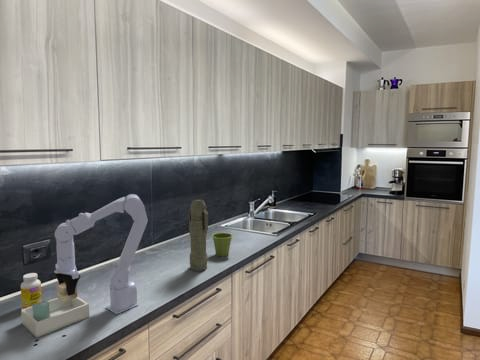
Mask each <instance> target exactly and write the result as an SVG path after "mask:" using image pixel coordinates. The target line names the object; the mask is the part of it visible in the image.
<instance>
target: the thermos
mask: <svg viewBox="0 0 480 360" xmlns="http://www.w3.org/2000/svg"><path fill="white" fill-rule="evenodd" d="M206 207H207V206H206V203H205V200H203V199H196V198H195V199H193V200H191V203H190V208H189V210H188V228H189V236H190V253H189V269H190V270H191V271H193V272H203V271H206V270H207V269H208V252H207V235H208V230H209V212H208V211H207V209H206Z"/></svg>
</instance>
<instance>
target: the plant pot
mask: <svg viewBox="0 0 480 360" xmlns="http://www.w3.org/2000/svg"><path fill="white" fill-rule="evenodd" d="M211 237H212V240H213V244H214V251H215V255H216V256H217V257H220V256H221V257H227V256H229V253H230V249H231V248H230V246H231V241H232V237H233V234H232V233H228V232H215V233H213V234H211Z"/></svg>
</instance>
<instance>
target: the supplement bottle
mask: <svg viewBox="0 0 480 360" xmlns="http://www.w3.org/2000/svg"><path fill="white" fill-rule="evenodd" d="M22 279H23V282H21V284H20V295H21V296H20V299H21V300H20V302H21V310H22V309H25V308H28V307H31V306H33V305H34V304H35V303H38V302H41V301H43V299H42V282H41V280H40V279H38V273H36V272H29V273H26V274H24V275H23V277H22Z"/></svg>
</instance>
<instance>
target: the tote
mask: <svg viewBox="0 0 480 360" xmlns="http://www.w3.org/2000/svg"><path fill="white" fill-rule="evenodd" d="M47 301H48V302H49V310H50V317H49V318H46V319H44V320H41V321H38V322H37V321H36V320H35V319H34V318H33V309H32V306H31V307H28V308H25V309H22V308H21V310H20V317H21V319H20V320H21V324H22V325H23V326H24V327H25V328H26V329H27V330H28V331H29V332H30V333H31V334H32V335H33V336H34V337H35V338H37V339H38V338H41V337H43V336H46V335H48V334H50V333H53V332H55V331H57V330H60V329H63V328H65V327H68V326H70V325H72V324H75V323H78V322H80V321H83V320H85V319H88V318H90V303H89V302H86V301H85V300H84V299H82V298H81V297H79V296H77V297H76V298H74V299H71V300H68V301H65V302H62V301H61V300H60V299H58V298H57V297H56V298H52V299H50V300H47Z"/></svg>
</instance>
